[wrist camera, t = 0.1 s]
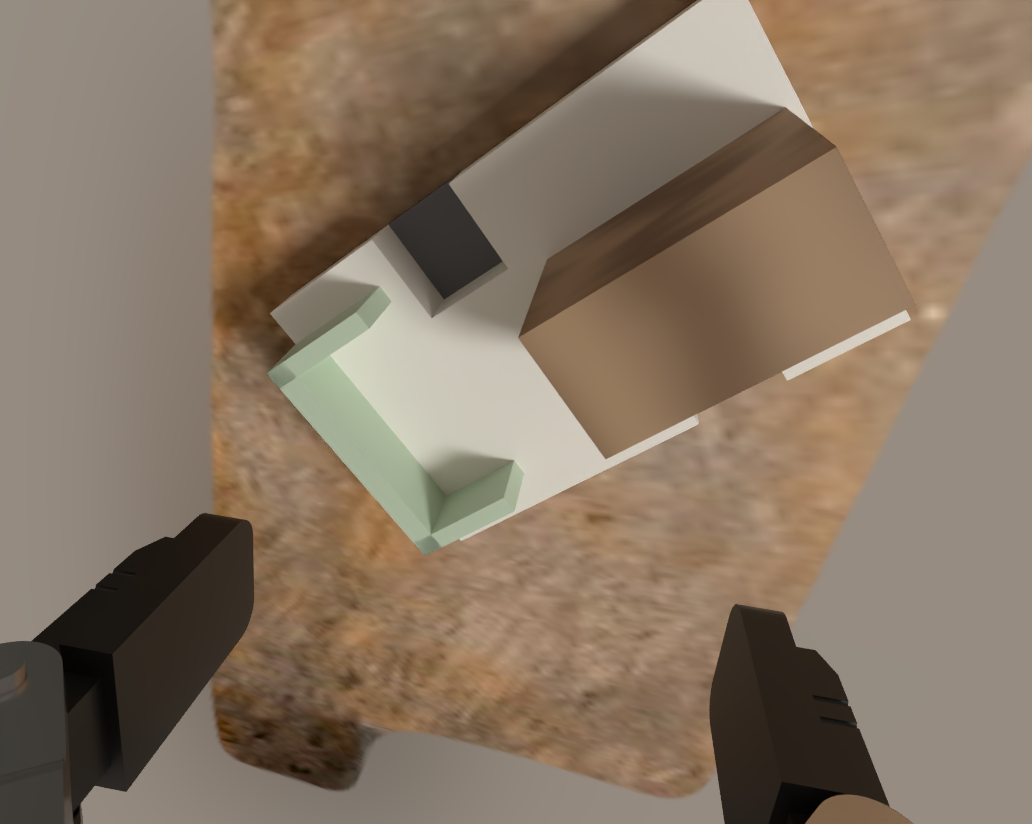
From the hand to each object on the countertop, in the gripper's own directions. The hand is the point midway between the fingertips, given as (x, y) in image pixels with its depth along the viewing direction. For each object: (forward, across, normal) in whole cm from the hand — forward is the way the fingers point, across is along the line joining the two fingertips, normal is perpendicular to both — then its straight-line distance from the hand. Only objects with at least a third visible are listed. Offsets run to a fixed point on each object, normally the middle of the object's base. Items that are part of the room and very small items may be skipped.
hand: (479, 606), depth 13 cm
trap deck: (+22, 0, 0) cm, 23 cm away
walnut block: (+20, -4, -4) cm, 20 cm away
